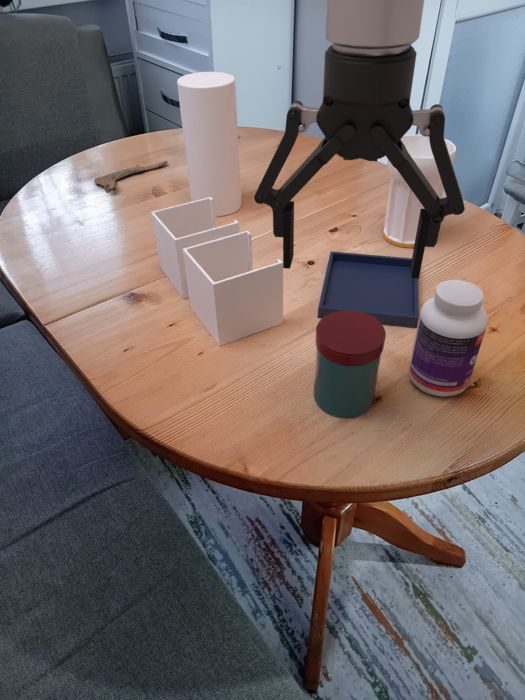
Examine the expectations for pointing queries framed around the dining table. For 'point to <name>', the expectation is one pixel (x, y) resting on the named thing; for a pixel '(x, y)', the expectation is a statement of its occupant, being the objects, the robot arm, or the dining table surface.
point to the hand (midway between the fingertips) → (350, 267)
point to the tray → (371, 288)
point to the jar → (345, 387)
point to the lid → (350, 338)
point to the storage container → (217, 271)
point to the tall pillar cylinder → (211, 138)
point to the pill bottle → (448, 338)
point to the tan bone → (122, 175)
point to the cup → (410, 191)
